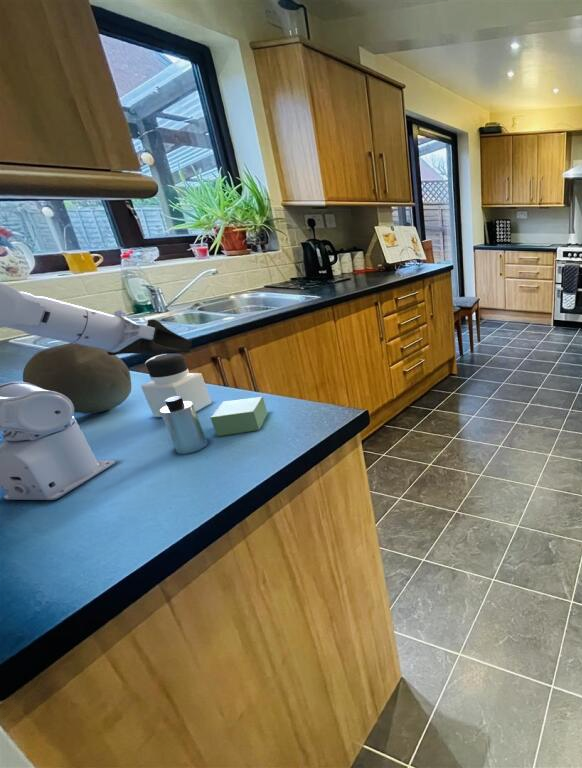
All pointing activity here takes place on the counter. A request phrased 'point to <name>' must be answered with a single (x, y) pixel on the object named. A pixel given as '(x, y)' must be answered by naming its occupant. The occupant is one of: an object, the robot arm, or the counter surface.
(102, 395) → the cantaloupe
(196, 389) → the medicine bottle
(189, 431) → the flask
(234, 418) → the block
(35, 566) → the counter surface
